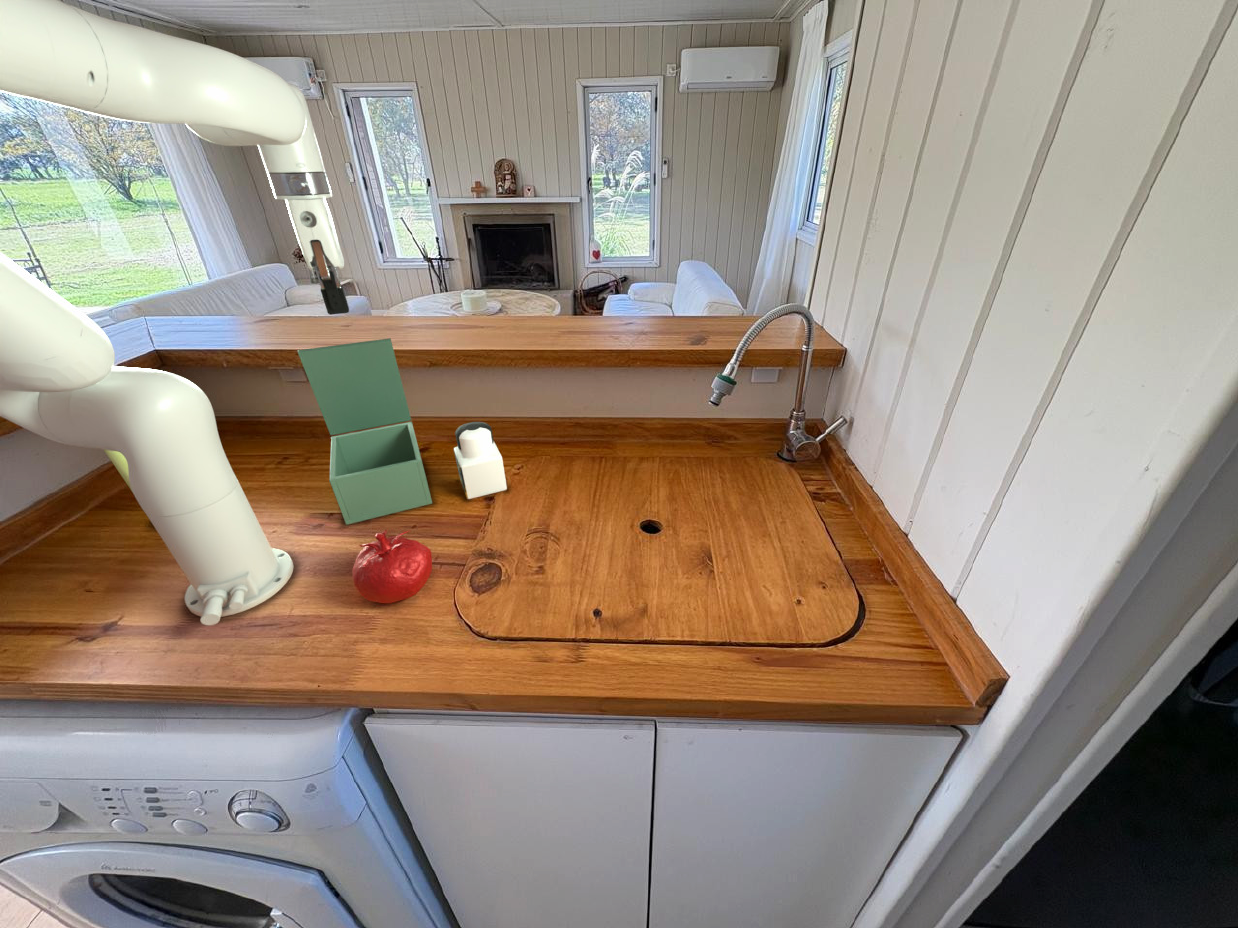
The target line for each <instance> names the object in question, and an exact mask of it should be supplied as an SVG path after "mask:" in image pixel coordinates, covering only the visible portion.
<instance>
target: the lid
mask: <svg viewBox="0 0 1238 928" xmlns="http://www.w3.org/2000/svg"><path fill="white" fill-rule="evenodd" d="M297 354H298V356H299V359H300V363H301V364H302V366H303V369H304V372H305V374H306V377H307V379H308V383H309V384H310V387H311V389H312V393H313V395H314V397H315V400H316V402H317V404H318V407H319V410H320V412H321V415H322V417H323V420H324V423H325V425H326V428H327V430H328V433H329V435H330V436H337V435H342V434H348V433H353V432H358V431H364V430H369V429H374V428H380V427H385V426H390V425H395V424H401V423H406V422H411V421H412V417H411V413H410V409H409V406H408V402H407V397H406V394H405V390H404V386H403V381H402V378H401V375H400V370H399V366H398V362H397V358H396V354H395V350H394V346H393V343H392V338H381V339H373V340H368V341H367V340H366V341H358V342H351V343H343V344H335V345H328V346H327V345H326V346H319V347H312V348H304V349H298V350H297Z"/></svg>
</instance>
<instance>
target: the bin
mask: <svg viewBox="0 0 1238 928" xmlns="http://www.w3.org/2000/svg"><path fill="white" fill-rule="evenodd" d="M330 439H331V441H330V460H329V484H330V486H331V488H332V491H333V494H334V497H335V500H336V502H337V504H338V507H339V509H340V510H339V511H340V513H341V515H342V518H343V520H344V523H345V525H346V526H348V525H351V524H356V523H359V522H364V521H367V520H372V519H376V518H379V517H383V516H388V515H392V514H397V513H399V512H404V511H408V510H412V509H416V508H420V507H424V506H428V505H432V504H433V500H432V497H431V496H432V495H431V492H430V491H431V490H430V488H429V484H428V479H427V476H426V472H425V468H424V464H423V460H422V456H421V452H420V448H419V445H418V440H417V437H416V433H415V429H414V425H413V421H406V422H400V423H395V424H390V425H384V426H379V427H374V428H369V429H363V430H358V431H353V432H347V433H342V434H337V435H332V436H331V437H330Z"/></svg>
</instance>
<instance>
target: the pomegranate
mask: <svg viewBox="0 0 1238 928" xmlns="http://www.w3.org/2000/svg"><path fill="white" fill-rule="evenodd" d="M411 531H412V530H411V529H410V530H406V531H403V532H401V533H399V534H398V535H390V536H387V535H386V534H387V533H388V531H387V530H386V529H385V530H384V531H382V533H381V532H378V533H375V534H374V537H375V539H376V540H374V541H372V542H367V543H363V544H358V545H359V547H360V548H362V549H361V550H360V552H359V553H358V555H357V556H356V558H355V561H354V564H353V566H352V571H351V572H352V582H353V585H354V587H355V588H356V590H357V592H358V593H359V594H360V595H361V597H362V598H363V599H365V600H367V601H369V602H375V603H378V604H392V603H397V602H400V601H403V600H407V599H410V598H412V597H413V596H415V595H417V594H418V593H419V592H420V591H421V590H422V589H423V587H424V586H425V585H426V584H427V582H428V580H429V578H430V577H431V574H432V570H433V557H432V551H431V548H430V547H428V546H426V545H425V544H422V543H421V542H419V541H418V540H415V539H410V538H407V537H404V536H402V535H405V534H406V533H408V532H411Z"/></svg>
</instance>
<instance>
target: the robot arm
mask: <svg viewBox="0 0 1238 928" xmlns="http://www.w3.org/2000/svg"><path fill="white" fill-rule="evenodd" d="M0 93H5V94H9V95H13V96H17V97H20V98H21V97H22V98H26V99H32V100H37V101H40V102H43V103H44V102H45V103H48V104H53V105H56V106H60V107H65V108H70V109H73V110H76V111H80V112H84V113H87V114H91V115H96V116H99V117H104V118H109V119H114V120H117V121H118V120H119V121H127V122H136V123H142V124H143V123H145V124H160V125H161V124H165V125H167V124H168V125H170V124H171V125H186V127H187V128H188V129H189V130H190V131H191V132H193V133H194V134H196V135H197V136H198V137H199V138H201V139H203V140H205V141H206V142H209V143H212V144H215V145H220V146H226V147H247V146H248V147H250V146H257V147H258V150H259V154H260V156H261V160H262V164H263V165H264V168H265V172H266V175H267V177H268V180H269V184H270V187H271V189H272V193H273V196H274V198H275V200H282V201H285V204H286V207H287V210H288V214H289V218H290V221H291V223H292V227H293V229H294V233H295V235H296V239H297V242H298V244H299V247H300V250H301V253H302V255H303V258H304V261H305V263H306V266H307V269H308V270H309V271H311V272H315V274H316V277H317V280H318V283H319V286H320V293H321V297H322V299H323V303H324V305H325V310H326V313H327V314H328V315H330V316H331V315H332V316H333V315H340V314H348V313H349V312H350V307H349V303H348V299H347V296H346V293H345V290H344V286H343V285H342V284H341V281H340V276H339V273H338V269H337V267H338V268H339V270H343V269H344V267H345V258H344V255H343V252H342V248H341V245H340V242H339V238H338V234H337V231H336V228H335V224H334V221H333V217H332V214H331V211H330V208H329V206H328V203H327V200H326V199H330V198H333V194H332V190H331V186H330V184H329V180H328V176H327V172H326V169H325V165H324V161H323V157H322V154H321V150H320V147H319V143H318V139H317V136H316V135H317V134H316V132H315V128H314V125H313V121H312V118H311V113H310V110H309V107H308V103H307V100H306V97H305V95H304V92H302V90H301V89H300V88H299V87H298V86H296V85H294V84H292V83H289V82H287V81H286V80H285V79H283V78H282V77H281V76H280V75H278V74H277V73H276V72H274V71H273V70H271V69H269V68H267V67H265V66H263V65H261V64H258V63H256V62H254V61H252V60H249V59H247V58H245V57H242V56H240V55H238V54H235V53H232V52H230V51H227V50H224V49H221V48H218V47H215V46H212V45H209V44H206V43H205V44H204V43H202V42H197V41H194V40H191V39H187V38H182V37H178V36H174V35H170V34H166V33H163V32H158V31H155V30H152V29H149V28H146V27H142V26H138V25H134V24H131V23H127V22H122V21H119V20H114V19H110V18H106V17H104V16H100V15H97V14H94V13H92V12H90V11H87V10H84V9H82V8H79V7H76V6H74V5H73V4H70V3H67V2H64V1H61V0H0ZM115 362H116V355H115V349H114V346H113V344H112V342H111V340H110V338H109V337H108V335H107V334H106V332H105V331H104V330H103V329H102V328H101V327H100V325H98V324H97V323H96V322H95V321H94V320H92V319H91V318H90V317H89V316H88V315H86V314H85V313H84V312H82V310H80V309H78V308H77V307H76V306H74V305H73V304H71V303H70V302H69V301H68V300H66V299H65V298H63V297H62V296H60V295H59V294H58V293H56V292H55V291H54V290H52V289H51V288H49V287H48V286H47V285H45V284H44V283H43V282H41V281H40V280H39V279H38V278H36V277H35V276H34V275H32V274H30V272H28V271H27V270H26V269H24V268H23V267H21V266H20V265H18V264H17V263H16V262H15V261H13V260H11V258H9V257H8V256H6V255H5V254H4V253H2V251H0V417H1V418H3V419H5V420H7V421H8V422H11V423H13V424H15V425H17V426H19V427H20V428H23V429H25V430H27V431H29V432H31V433H33V434H36V435H38V436H41V437H43V438H45V439H47V440H50V441H53V442H56V443H59V444H63V445H66V446H72V447H79V448H85V449H96V450H103V449H104V450H109V451H116V452H120V453H122V454H123V456H124V457H125V458H126V460H127V463H128V470H129V482H130V486H131V489H132V491H131V493H132V494H133V496H134V498H135V500H136V501H137V503H138V505H139V507H141V509H142V511H143V512H144V513H145V515H146V516H147V518H148V520H149V521H150V522H151V524H152V525H153V527H154V529H155V530H156V532H157V534H158V535H159V537H160V538H161V539H162V542H163V543H164V545H165V546H166V548H167V549H168V551H169V552H170V554H171V555H172V557H173V558H174V560H175V562H176V563H177V565H178V567H179V568H180V569H181V571H182V573H183V574H184V575H185V577H186V578H187V580H188V582H189V583H190V584H189V585H188V587H187V588H186V591H185V593H184V604H185V606H186V607H187V608H188V610H189V611H190V612H191V614H193V615H195V616H198V617H200V620H199V622H200V623H201V624H202V625H204V626H215V625H217V624H218V623H219V622H220V620H221V618H223V617H224V618H225V617H228V616H233V615H236V614H239V613H242V612H246V611H247V610H250V609H252V608H255V607H257V606H258V605H261V604H263V603H265V602H266V601H267V600H269V599H271V598H272V597H274V595H276V594H277V593H278V592H279V591H280V590H281V589H283V587H285V585H287V584H288V582H289V580H290V579H291V577H292V576H293V575H292V574H293V572H294V562H293V560H292V558H291V556H290V555H289V554H288V553H287V552H286V551H284V550H282V549H279V548H274V547H272V546H271V544H270V542H269V540H268V538H267V536H266V534H265V532H264V530H263V528H262V526H261V523H260V522H259V520H258V517H257V516H256V514H255V512H254V510H253V508H252V505H251V504H250V502H249V500H248V498H247V496H246V494H245V491H244V490H243V488H242V486H241V483H240V482H239V480H238V478H237V476H236V473H235V472H234V470H233V468H232V465H231V464H230V462H229V459H228V457H227V455H226V453H225V450H224V448H223V445H222V441H221V438H220V435H219V431H218V426H217V421H216V420H217V419H216V416H215V411H214V408H213V406H212V403H211V401H210V399H209V398H208V396H207V394H206V393H205V391H203V389H201V388H200V387H199V386H198V385H196V383H194V382H192V381H191V380H189V379H187V378H186V377H183V376H181V375H178V374H175V373H172V372H168V371H165V370H164V371H163V370H159V369H152V368H141V367H127V366H117V365H115ZM104 450H103V451H104ZM131 489H130V490H131Z"/></svg>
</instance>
